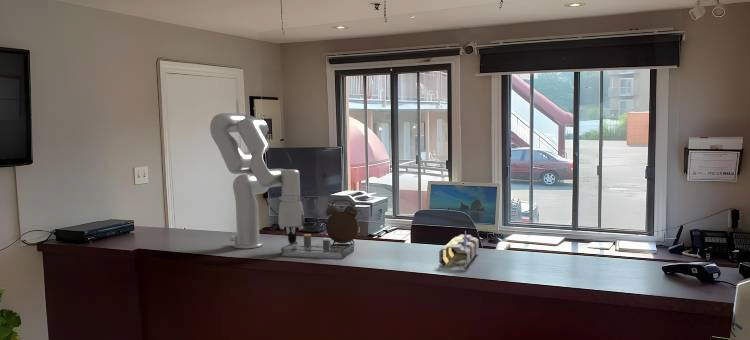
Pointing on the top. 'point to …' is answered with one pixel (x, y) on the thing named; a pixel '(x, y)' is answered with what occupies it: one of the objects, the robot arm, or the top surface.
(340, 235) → the alarm clock
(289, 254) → the console
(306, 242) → the fader cap
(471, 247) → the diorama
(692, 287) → the top surface
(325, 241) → the fader cap
